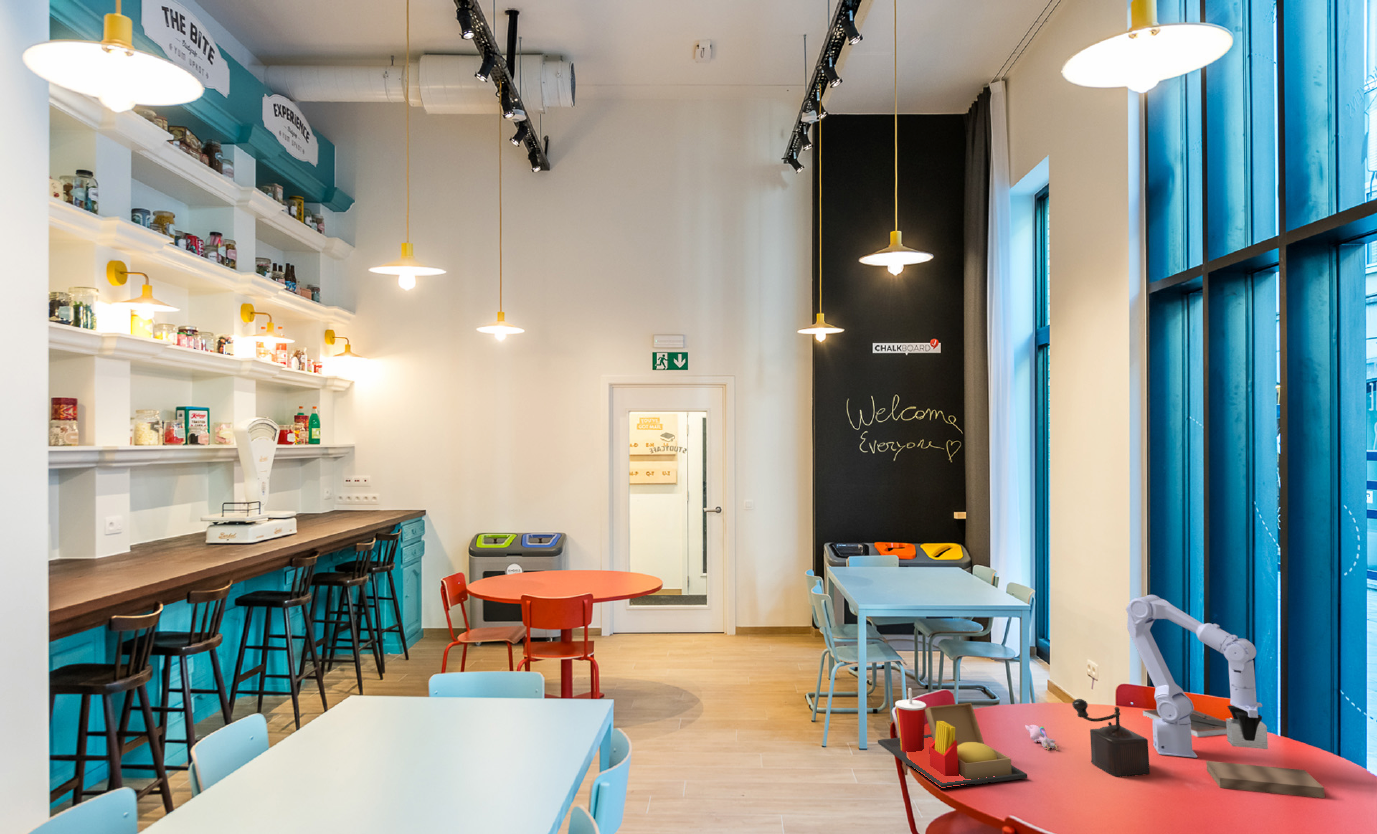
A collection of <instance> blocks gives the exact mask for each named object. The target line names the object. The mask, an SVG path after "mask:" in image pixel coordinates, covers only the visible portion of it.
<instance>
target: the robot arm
mask: <svg viewBox="0 0 1377 834" xmlns="http://www.w3.org/2000/svg"><path fill="white" fill-rule="evenodd" d="M1125 610H1126V613H1127V624H1126V625H1127V630H1128V633H1129V635H1130V638H1131V639H1132V642H1133V643H1134V646H1135V648H1136V649H1137V652H1138V655H1139V657H1140V658H1141V660H1142V663H1143V665H1144V668H1145V669H1146V671H1147V674H1148V675H1149V678H1150V679H1151V682H1152V684H1153V686H1154V688H1155V691H1154V700H1155V702H1156V709H1157V712H1158V714H1159V715H1160V717H1161V719H1152V738H1153V740H1152V741H1153V747H1154V750H1156V752H1157V754H1159V755H1161V756H1162V755H1163V756H1174V757H1185V758H1196V759H1197V758H1198V755H1197V754H1196V753H1195V751H1194V750H1193V739H1192V738H1193V737H1192V736H1193V735H1191V720H1190V716H1189V715H1191V714H1192V712H1193V710H1195V707H1194V704H1193V702H1192V699H1191V698H1189V696H1187V695H1186V694H1185V692H1184V690H1183V688H1181V687H1180V686H1179V685H1178V684H1177V683H1176V682H1175V680H1174V678H1173V676H1172V674H1171V672H1170V670H1169V668H1168V666H1167V664H1166V662H1165V659H1164V658H1163V655H1162V653H1161V652H1160V649H1159V647H1158V645H1157V643H1156V641H1155V639H1154V637H1153V634H1152V632H1151V627H1152V626H1153V624H1154V622H1155V621H1156V620H1157V619H1158V620H1163V619H1164V620H1169V621H1171V622H1173V623H1174V624H1177V626H1181V627H1182V628H1184V629H1186V630H1188V631H1189V632H1190V631H1191V632H1192V633H1194V634H1196V637H1197V639H1198V640H1199V641H1200V642H1202V643H1203V644H1205V645H1207V646H1208V647H1210V648H1212V649H1214V650H1216V651H1217V652H1219V653H1220V654H1223V656H1224V657H1225V659H1226V660H1227V661H1228V677H1229V691H1230V692H1229V693H1230V700H1229V704H1230V705H1227V709H1228V710H1229V711H1230V714H1231V716H1232V719H1239V722H1240V724H1241V728H1242V733H1243V737H1244V739H1245V740H1247V741H1254V740H1255V736H1256V731H1257V727H1258V725H1259V723H1260V721H1261V722H1262V720H1263V716H1262V715H1261V714H1259V712H1258V708H1262V707H1263V704H1262V703H1261V702H1257V692H1256V689H1257V688H1256V675H1255V665H1254V663H1255V662H1254V660H1253V659H1255V657H1256V655H1257V650H1256V647H1255V645H1254V644H1253V643H1252V642H1250V641H1249V640H1248V639H1246V638H1238V635H1236V634H1231V633H1229V632H1227V631H1225V630H1223V629H1222V628H1220V627H1221V626H1220V625H1219V624H1217V623H1213V624H1212V623H1210V622H1207V623H1202V622H1200V621H1199V620H1197V619H1195V618H1194V617H1192V616H1191V615H1189V614H1187V613H1186V612H1184V611H1182V610H1181V609H1179V608H1177V607H1176V606H1175V605H1173V604H1171V603H1170V602H1169V601H1167V600H1166V599H1163V598H1160V597H1159V596H1158V595H1155V594H1148V595H1146V596H1145V595H1144V596H1141V597H1135V598H1132V599H1131V600H1130V601H1129V603H1128V604H1127V607H1125Z"/></svg>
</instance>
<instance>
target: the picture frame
mask: <svg viewBox="0 0 1377 834" xmlns="http://www.w3.org/2000/svg"><path fill="white" fill-rule="evenodd" d="M1142 716H1143V717H1146V716H1147V718H1148V717H1149V718H1148V719H1151V720H1153V719H1161V717H1160V715H1159V714H1158V712H1157V708H1156V709H1147V710H1145V709H1144V710H1142ZM1189 716H1190V720H1191V735H1192V736H1194V737H1197V738H1199V737H1200V738H1202V737H1210V736H1220V735H1221V736H1222V735H1227V726H1226V720H1224V719H1220V718H1218V717H1215V716H1212V715H1210V714H1207V713H1204V712H1201V711H1198V710H1195V709H1193V712H1192V714H1191V715H1189Z"/></svg>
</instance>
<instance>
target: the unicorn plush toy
mask: <svg viewBox="0 0 1377 834" xmlns="http://www.w3.org/2000/svg"><path fill="white" fill-rule="evenodd" d="M1024 727H1025V729H1026V731H1028V733H1029V735H1030V736H1029V737H1030V739H1031V740H1032V741H1033V742H1034V743H1037V741H1039V742H1041V746H1043V747H1044V748H1048V749H1047V750H1046V751H1048V750H1049V751H1050V748H1054V749H1056V750H1057V751H1059V748H1058V745H1056V743H1055V742H1056V739H1052V738H1049V737H1048V734H1047V732H1046V730H1045V727H1044V726H1038V725H1036V724H1030V725H1027V724H1025V725H1024ZM1043 747H1042V748H1043ZM1049 747H1050V748H1049ZM1044 748H1043V749H1044ZM1056 750H1055V751H1056Z"/></svg>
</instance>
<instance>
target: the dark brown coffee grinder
mask: <svg viewBox="0 0 1377 834" xmlns="http://www.w3.org/2000/svg"><path fill="white" fill-rule="evenodd" d="M1071 704H1072V707H1073V709H1074V710H1075V711H1076V712H1077V714H1076V715H1077V717H1079V718H1082V719H1085V720H1086V721H1089V722H1094V723H1095V722H1096V723H1097V722H1098V723H1099V722H1104V721H1108V722H1107V724H1108V725H1107V726H1102V727H1100V728H1090V729H1089V732H1090V733H1089V734H1090V736H1089V737H1090V751H1091V755H1090V756H1091V760H1090V763H1092V764H1093V765H1094V767H1096V766H1097V767H1096V768H1097V769H1099V770H1101V769H1102V771H1103V772H1105V773H1106V774H1108V775H1110V776H1113V777H1115V778H1116V777H1117V778H1123V777H1122V776H1127V777H1135V775H1138V776H1144V775H1143V774H1146V775H1150V774H1151V768H1150V756H1149V755H1150V754H1149V740H1148V738H1146V737H1144V736H1142V735H1141V734H1138V733H1136V732H1134V731H1132V730H1129V729H1127V728H1126V727H1124V726H1122V725H1121V724H1120V723H1121V722H1120V716H1121V712H1120V711H1121V710H1120V707H1119V706H1116V707H1114V713H1113V714H1111V715H1108V716H1107V715H1106V716H1104V717H1096V718H1092V717H1088V716H1089V713H1088V712H1087V709H1088V707H1089V706H1088V705H1089V704H1088V702H1087V701H1086V700H1085V699H1082V698H1077V699H1075V700H1073V702H1072V703H1071ZM1113 719H1115V724H1112V722H1110V721H1109V720H1113ZM1120 776H1121V777H1120Z"/></svg>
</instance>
